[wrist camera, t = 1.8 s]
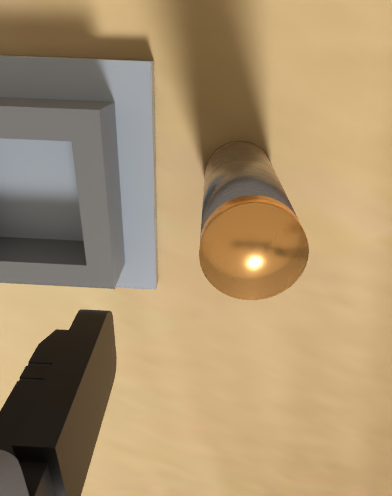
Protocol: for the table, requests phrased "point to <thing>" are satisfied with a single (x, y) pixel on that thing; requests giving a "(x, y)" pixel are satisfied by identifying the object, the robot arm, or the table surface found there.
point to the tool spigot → (248, 226)
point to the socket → (78, 172)
